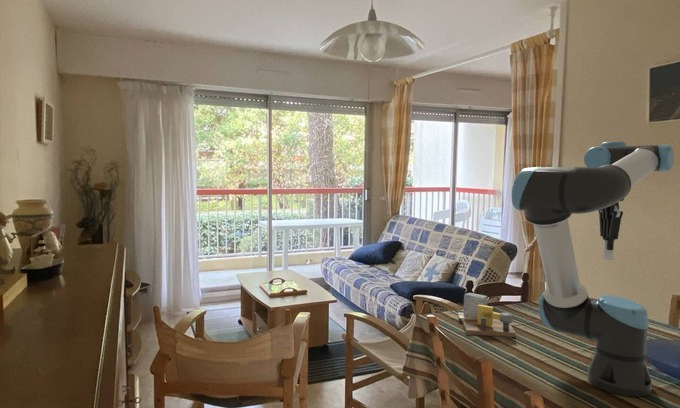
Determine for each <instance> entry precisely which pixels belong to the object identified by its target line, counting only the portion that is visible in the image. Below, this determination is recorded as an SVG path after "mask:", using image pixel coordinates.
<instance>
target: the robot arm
mask: <svg viewBox="0 0 680 408" xmlns="http://www.w3.org/2000/svg"><path fill="white" fill-rule="evenodd" d="M674 154H675V153H674V149H673V147H672V146H671V145H670V144H655V145H654V144H652V145H651V144H650V145H627V142H624V141H604V142H602V143H601V144H600V145H598V146H597V145H596V146H593V147H591V148H589V149H588V150H587V151H586V152H585V153H584V157H583V162H584V165H585V166H571V167H570V166H567V167H566V166H565V167H564V166H562V167H559V166H557V167H556V166H552V167H551V166H549V167H548V166H545V167H544V166H543V167H541V166H536V167H535V166H534V167H532V166H531V167H524V168H523V169H521V170H520V171H519V172H518V173H517V175H516V177H515V178H514V180H513V184H512V187H511V203H512V207H513V208H514V209H516V210H518V211H523V212H524V216H525V220H526V221H527V223H529V224H531V225H533V229H534V230H533V231H534V233H535V237H536V238H535V239H536V242H537V247H538V252H539V255H540V260H541V265H542V269H543V273H544V278H545V282H546V288H545V289H544V291H543V292H542V294H540V298H539V302H538V306H539V307H538V313H539V318H540V321H541V322H542V324H543V325H544V326H545V327H546V328H548V329H551V330H554V331H556V332H557V333H563V334H564V333H565V334H567V335H571V336H574V337H579V338H584V339H587V340H591V341H594V342H595V351H594V352H595V353H594V355H593V357H592V358H591V361H590V364H589V366H588V369H587V379H588V381H589V382H590V384H592V385H593V386H595V387H596V388H598V389H601V390H603V391H606V392H609V393H612V394H615V395H619V396H625V397H634V398H639V397H646V396H649V395H650V394H652V391H653V389H652V388H653V387H652V386H653V383H652V378H651V376H650V375H651V374H650V371H649V369H648V365H647V363H646V356H647V355H646V354H647V344H648V343H647V342H648V341H647V340H648V329H649V323H648V311H647V309H646V308H645V307H644V306H643V305H641V304H640V303H638V302H636V301H634V300H631V299H628V298H625V297H620V296H616V295H615V296H613V295H610V294H606V295H600V296H599V297H598V298H593V297H589V291H588V289H587V288H586V286H584V285H583V284H582V283H581V282H580V277H579V273H578V268H577V267H578V266H577V261H576V255H575V251H574V246H573V240H572V236H571V235H572V234H571V231H570V226H569V225H570V224H569V218H571V216H572V215H573V214H577V215H579V214H582V215H583V214H588V213H593V212H596V211H597V212H598V217H599V233H600V236H599V237H602V239H603V242H602V243H603V244H602V259H603V260H606V261H607V260H609V261H613V260H614V252H615V251H614V247H615V246H614V245H615V241H616V240H618V239H619V235H620V234H619V233H620V228H621V224H622V223H621V221H622V217H623V214H624V212H623V211H621V210H620V205H619V203H620V202H623V201H625V198H626V197H627V196H628V195H629V194H630V192H631V189H632V187H634V186H635V185H637V184H638V183H639V182H640V181H642V180H643V179H645V178H646V177H648V176H649V175H650V174H651V173H653V172H659V173H660V172H667V171H670V170H671V169H673V165H674V160H675V155H674Z"/></svg>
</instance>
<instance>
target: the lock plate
mask: <svg viewBox="0 0 680 408" xmlns="http://www.w3.org/2000/svg"><path fill="white" fill-rule="evenodd" d="M457 315H458V318H459V319H460V320H461V324H462V326H463V329H464V332H465V335H470V336H471V335H473V336H489V337H490V336H491V337H504V338H505V337H506V338H507V337H508V338H516V337H517V332H516V330H515V329H514V328H513V326H512V324H511V323H503V322H501V321H500V320H497V319H493V323H492V326H491V327H490V326H486V317H481V325H480V324H477V323H478V319H475V318H471V317H466V316H464V312H460V311H459V312H457Z"/></svg>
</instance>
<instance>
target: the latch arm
mask: <svg viewBox="0 0 680 408" xmlns="http://www.w3.org/2000/svg"><path fill="white" fill-rule="evenodd" d="M481 317H486V326H490V327H491V326H492V323H493V319H497V320H500V321H501V322H503V323H510V324H512V323H513V322H514V315H513V314H512V313H510V312H495V311H494V306H492V305H491V306H489V305H487V306H485V305H478V323H477V324H480V325H481Z"/></svg>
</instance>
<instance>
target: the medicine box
mask: <svg viewBox="0 0 680 408" xmlns="http://www.w3.org/2000/svg"><path fill="white" fill-rule="evenodd" d="M478 305H485V306H488V295H484V294H477V293H473V292H468V293H465V294H463V313H464V316H466V317H471V318H475V319H478Z"/></svg>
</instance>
